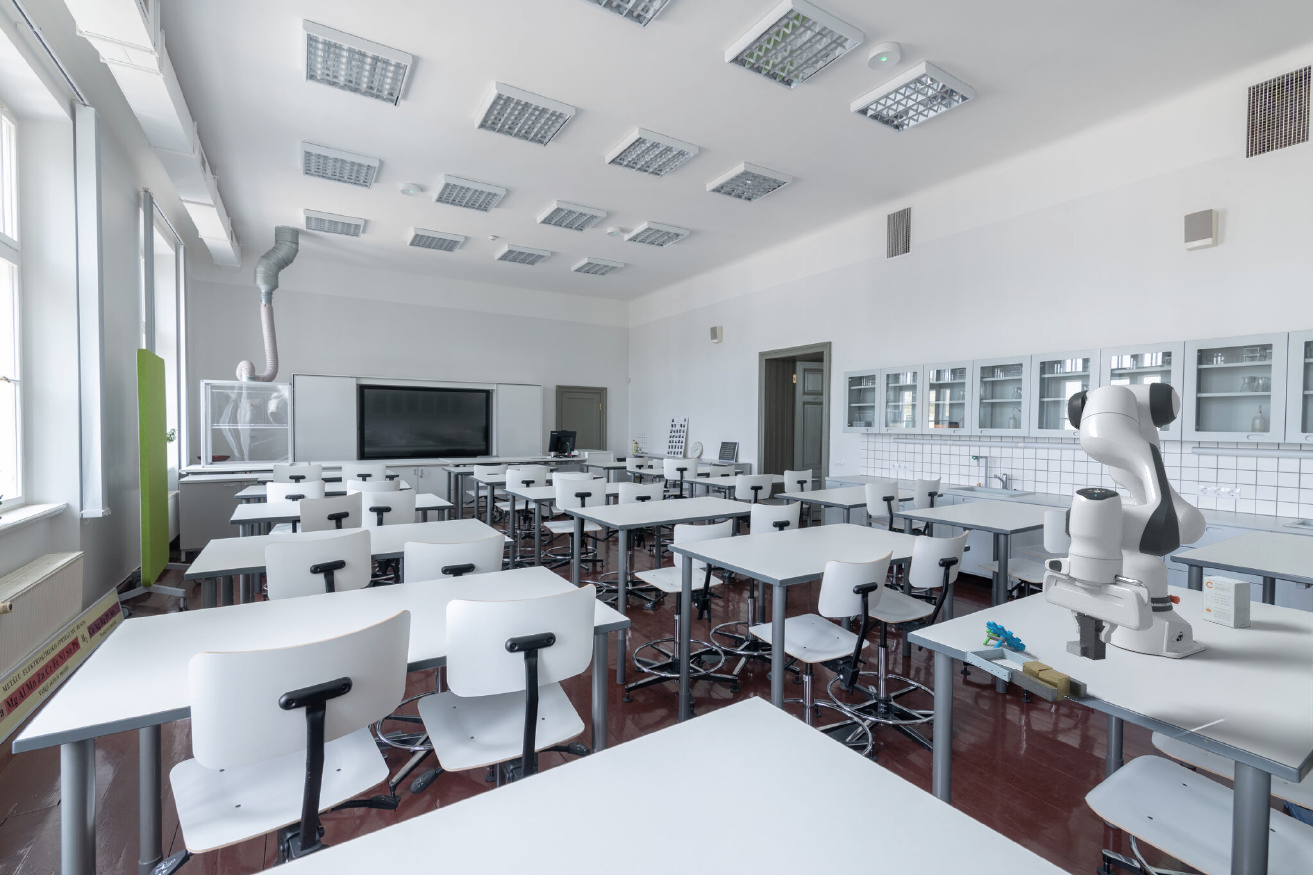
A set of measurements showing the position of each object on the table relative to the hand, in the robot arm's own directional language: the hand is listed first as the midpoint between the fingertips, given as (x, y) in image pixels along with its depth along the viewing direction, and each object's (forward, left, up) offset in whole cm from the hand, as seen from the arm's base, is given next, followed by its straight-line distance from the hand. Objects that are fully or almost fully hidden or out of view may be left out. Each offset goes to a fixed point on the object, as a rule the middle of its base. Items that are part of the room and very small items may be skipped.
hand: (1093, 637), depth 118 cm
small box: (-92, -32, -15) cm, 98 cm away
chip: (0, -8, -15) cm, 17 cm away
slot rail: (0, -10, -15) cm, 18 cm away
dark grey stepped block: (0, 0, -4) cm, 4 cm away
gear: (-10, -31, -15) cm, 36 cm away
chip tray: (0, -21, -15) cm, 26 cm away
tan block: (0, -13, -15) cm, 20 cm away
